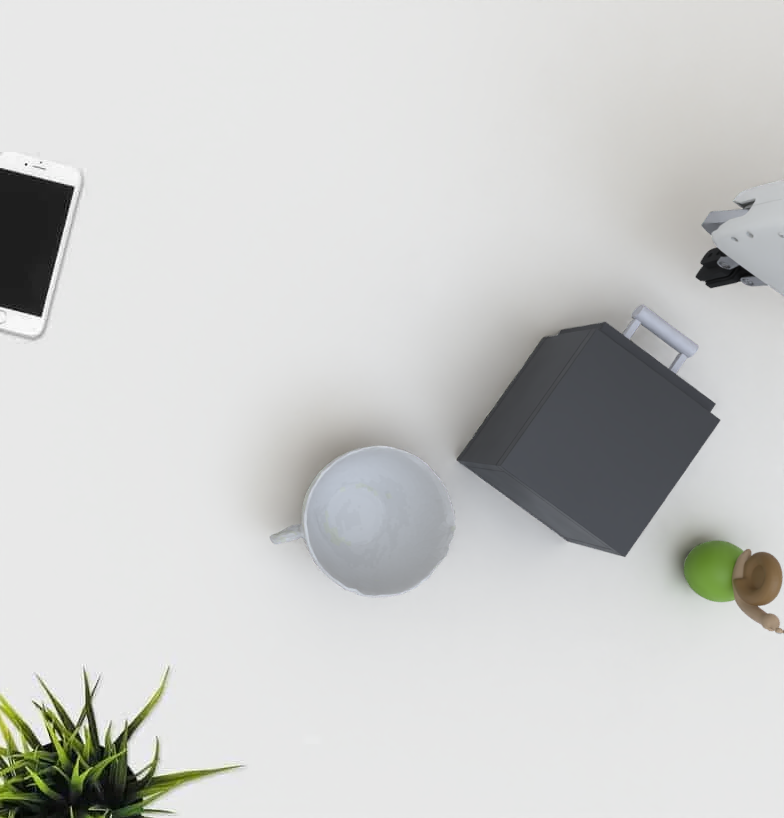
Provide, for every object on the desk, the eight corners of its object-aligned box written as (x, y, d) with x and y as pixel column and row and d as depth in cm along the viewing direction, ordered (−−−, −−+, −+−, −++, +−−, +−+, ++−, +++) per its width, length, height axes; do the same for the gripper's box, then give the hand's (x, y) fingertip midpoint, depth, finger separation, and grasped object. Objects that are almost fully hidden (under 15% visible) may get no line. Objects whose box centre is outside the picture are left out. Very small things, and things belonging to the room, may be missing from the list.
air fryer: (543, 337, 91) (597, 327, 81) (654, 419, 91) (721, 419, 82) (456, 460, 91) (500, 465, 81) (568, 542, 91) (625, 557, 81)
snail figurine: (665, 602, 91) (752, 631, 79) (675, 533, 91) (763, 551, 80) (722, 610, 92) (817, 640, 80) (732, 541, 92) (828, 560, 80)
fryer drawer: (587, 291, 90) (634, 280, 82) (688, 367, 91) (745, 362, 83) (480, 442, 90) (517, 445, 82) (583, 517, 90) (630, 527, 82)
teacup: (410, 431, 90) (441, 433, 82) (435, 567, 90) (468, 582, 82) (248, 462, 90) (262, 466, 82) (273, 598, 90) (290, 617, 82)
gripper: (991, 247, 68) (805, 283, 87) (815, 119, 68) (666, 183, 86) (930, 337, 68) (756, 354, 86) (753, 209, 68) (617, 253, 86)
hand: (711, 268), depth 86 cm, fingers closed
